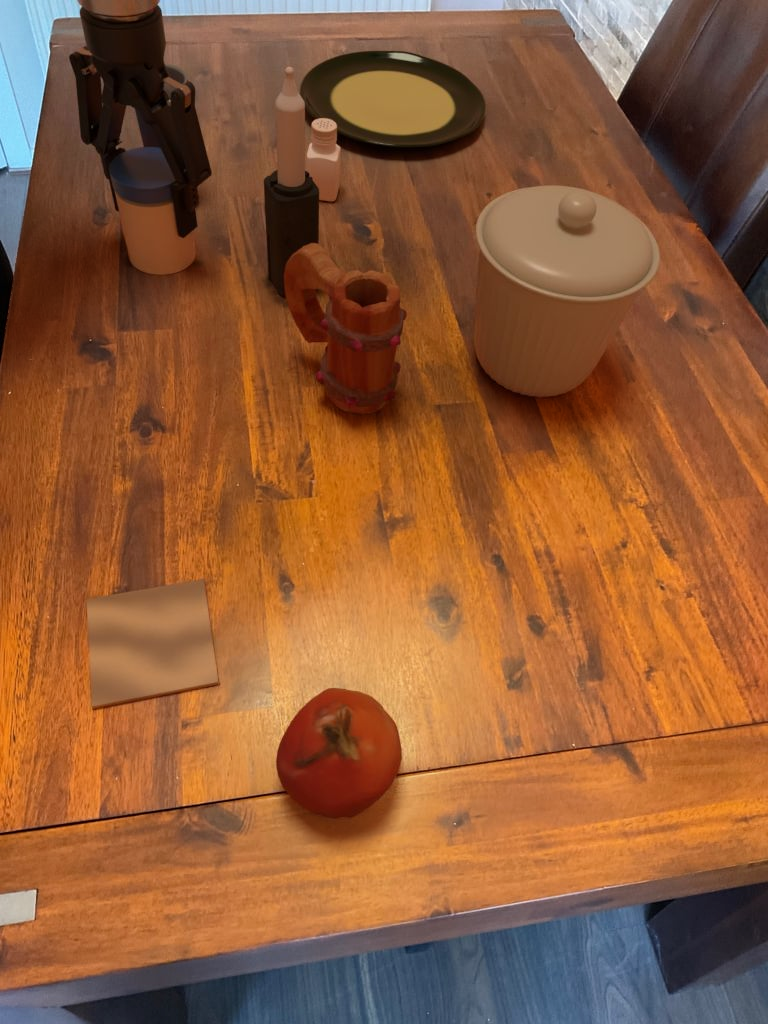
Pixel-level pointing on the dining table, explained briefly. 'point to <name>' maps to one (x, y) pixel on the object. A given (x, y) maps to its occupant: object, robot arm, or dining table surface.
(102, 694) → the coaster
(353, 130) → the plate
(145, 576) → the dining table surface
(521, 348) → the canister
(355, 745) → the tomato
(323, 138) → the salt shaker
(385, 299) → the mug
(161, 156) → the lid
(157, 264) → the jar
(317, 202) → the candle
